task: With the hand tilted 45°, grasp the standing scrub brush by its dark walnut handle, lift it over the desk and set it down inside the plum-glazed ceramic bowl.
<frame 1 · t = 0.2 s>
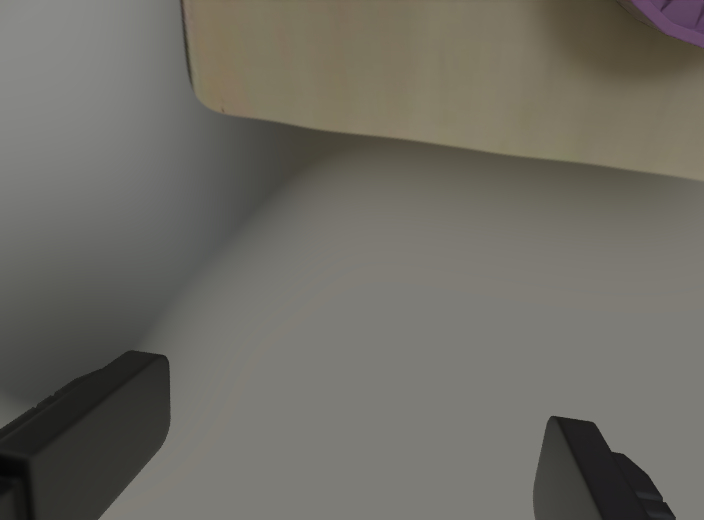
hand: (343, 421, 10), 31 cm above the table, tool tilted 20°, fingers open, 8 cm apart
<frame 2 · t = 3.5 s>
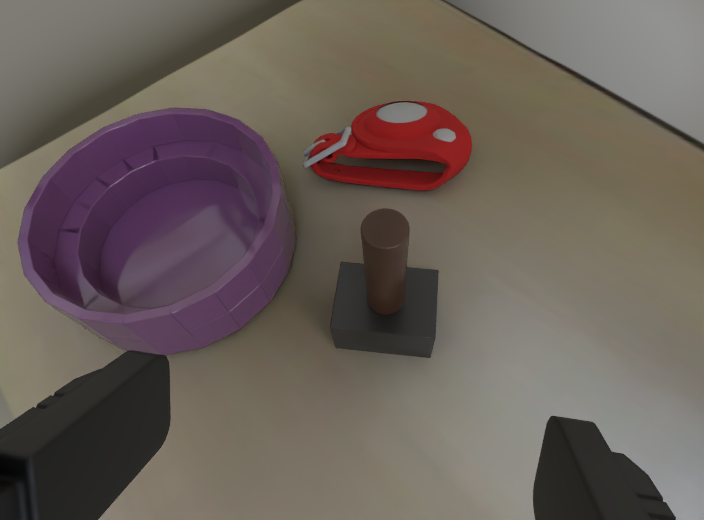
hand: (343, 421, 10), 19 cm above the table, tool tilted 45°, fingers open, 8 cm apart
tracker holder: (384, 154, 38), on the table
bowl: (186, 249, 35), on the table
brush: (385, 320, 31), on the table
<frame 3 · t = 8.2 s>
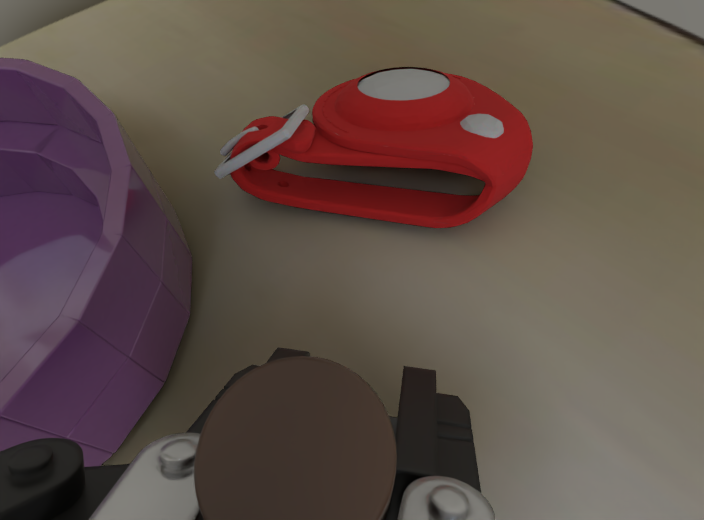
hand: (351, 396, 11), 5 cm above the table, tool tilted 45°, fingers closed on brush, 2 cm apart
tracker holder: (371, 159, 22), on the table
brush: (351, 510, 15), on the table, touching gripper
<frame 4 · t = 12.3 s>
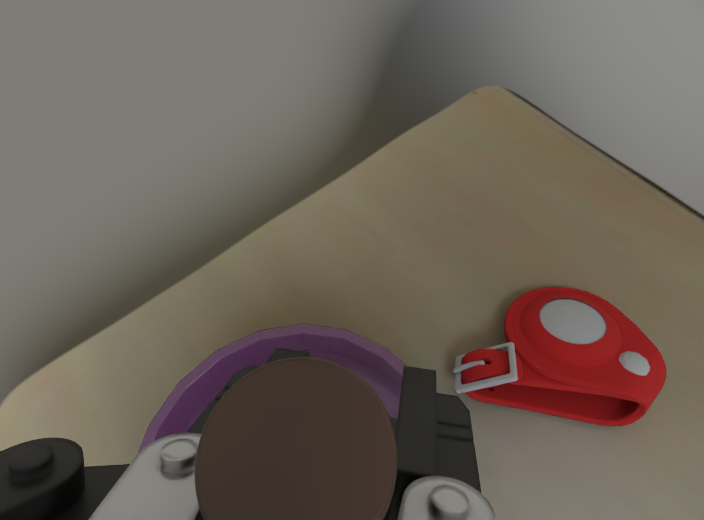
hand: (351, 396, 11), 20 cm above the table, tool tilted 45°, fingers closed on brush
tracker holder: (539, 358, 32), on the table
bowl: (309, 490, 28), on the table
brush: (351, 510, 14), point 15 cm above the table, touching gripper
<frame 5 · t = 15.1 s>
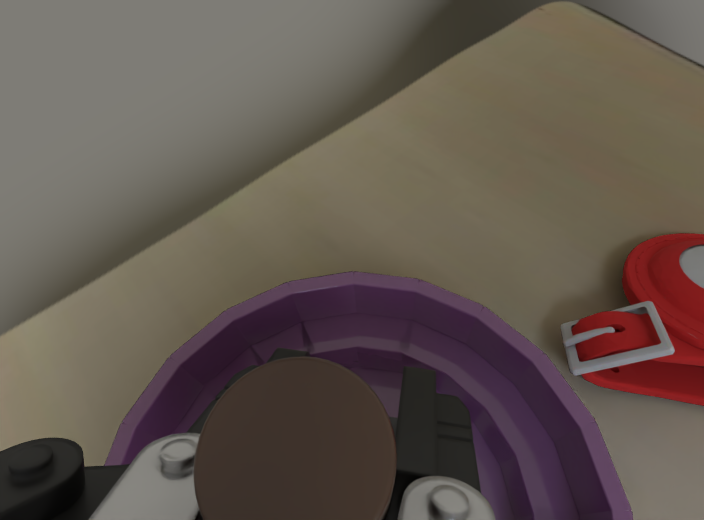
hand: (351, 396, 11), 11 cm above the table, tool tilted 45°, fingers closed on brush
tracker holder: (670, 328, 23), on the table
bowl: (359, 517, 19), on the table
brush: (351, 510, 14), point 6 cm above the table, touching gripper
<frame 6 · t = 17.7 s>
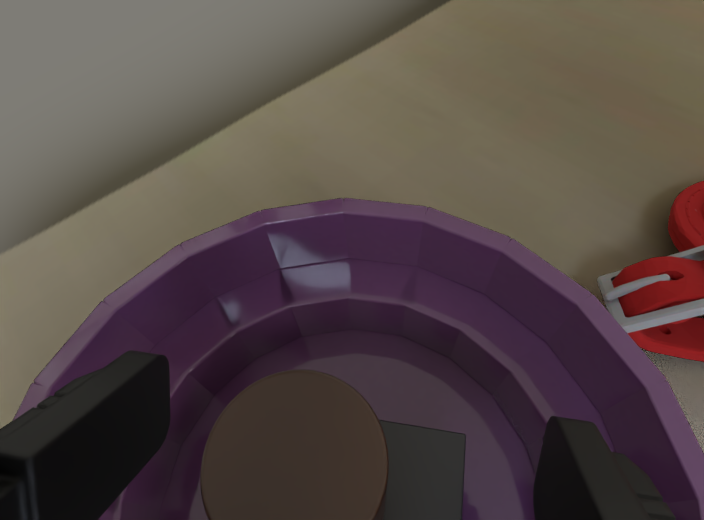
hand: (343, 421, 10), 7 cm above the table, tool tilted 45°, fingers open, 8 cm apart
bowl: (350, 510, 15), on the table
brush: (348, 511, 15), point 1 cm above the table, touching bowl
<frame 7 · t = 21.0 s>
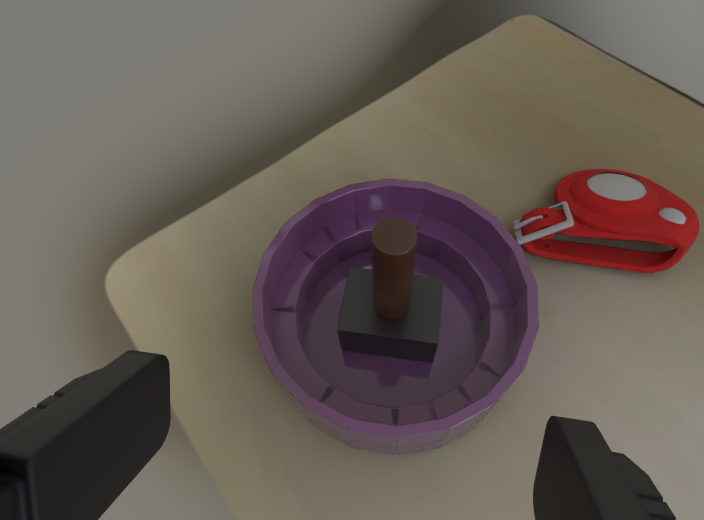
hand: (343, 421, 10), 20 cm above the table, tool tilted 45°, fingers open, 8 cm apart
tracker holder: (585, 227, 36), on the table
bowl: (390, 328, 32), on the table
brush: (390, 325, 32), point 1 cm above the table, touching bowl
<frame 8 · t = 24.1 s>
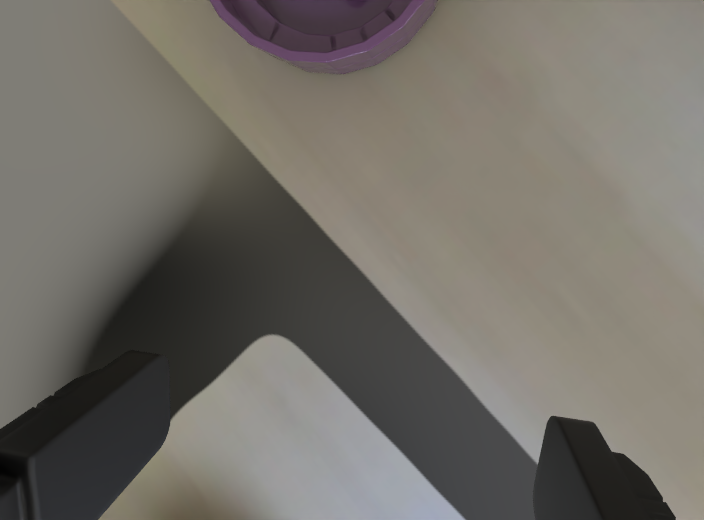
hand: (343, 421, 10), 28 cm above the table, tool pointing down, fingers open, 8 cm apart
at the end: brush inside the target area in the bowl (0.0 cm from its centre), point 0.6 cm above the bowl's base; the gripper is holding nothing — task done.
